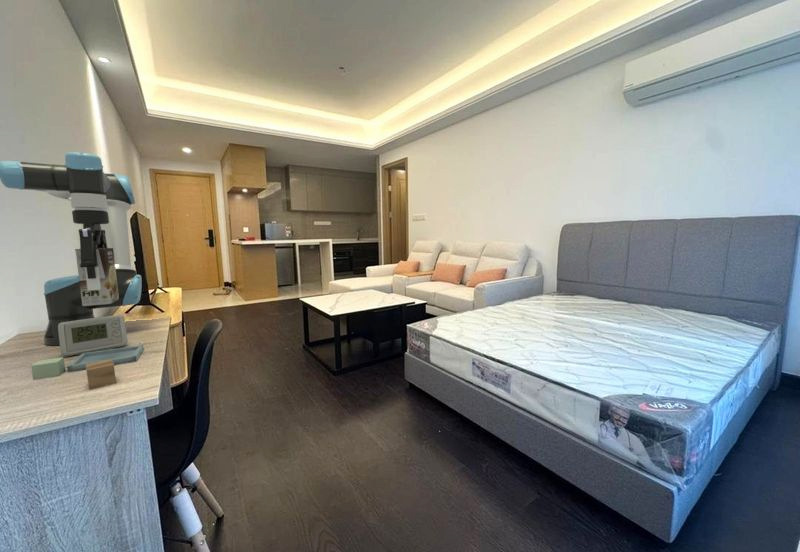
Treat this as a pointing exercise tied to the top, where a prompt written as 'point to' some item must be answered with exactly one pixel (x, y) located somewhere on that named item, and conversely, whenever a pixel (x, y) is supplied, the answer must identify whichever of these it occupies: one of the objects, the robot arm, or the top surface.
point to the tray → (106, 357)
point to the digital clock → (92, 335)
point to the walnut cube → (100, 374)
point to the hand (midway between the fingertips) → (99, 287)
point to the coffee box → (106, 279)
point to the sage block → (48, 368)
